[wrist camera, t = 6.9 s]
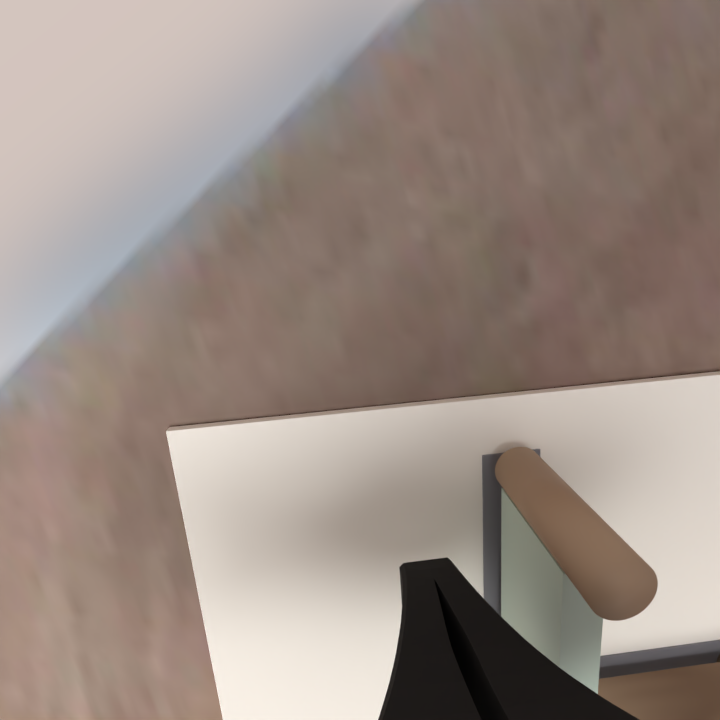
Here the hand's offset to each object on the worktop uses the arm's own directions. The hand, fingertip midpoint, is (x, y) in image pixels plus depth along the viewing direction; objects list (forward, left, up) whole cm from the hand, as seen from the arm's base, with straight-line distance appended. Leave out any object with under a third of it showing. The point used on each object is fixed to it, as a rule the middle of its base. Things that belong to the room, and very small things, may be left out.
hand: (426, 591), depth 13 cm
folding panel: (-3, +1, -2) cm, 4 cm away
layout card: (-3, +6, -3) cm, 8 cm away
